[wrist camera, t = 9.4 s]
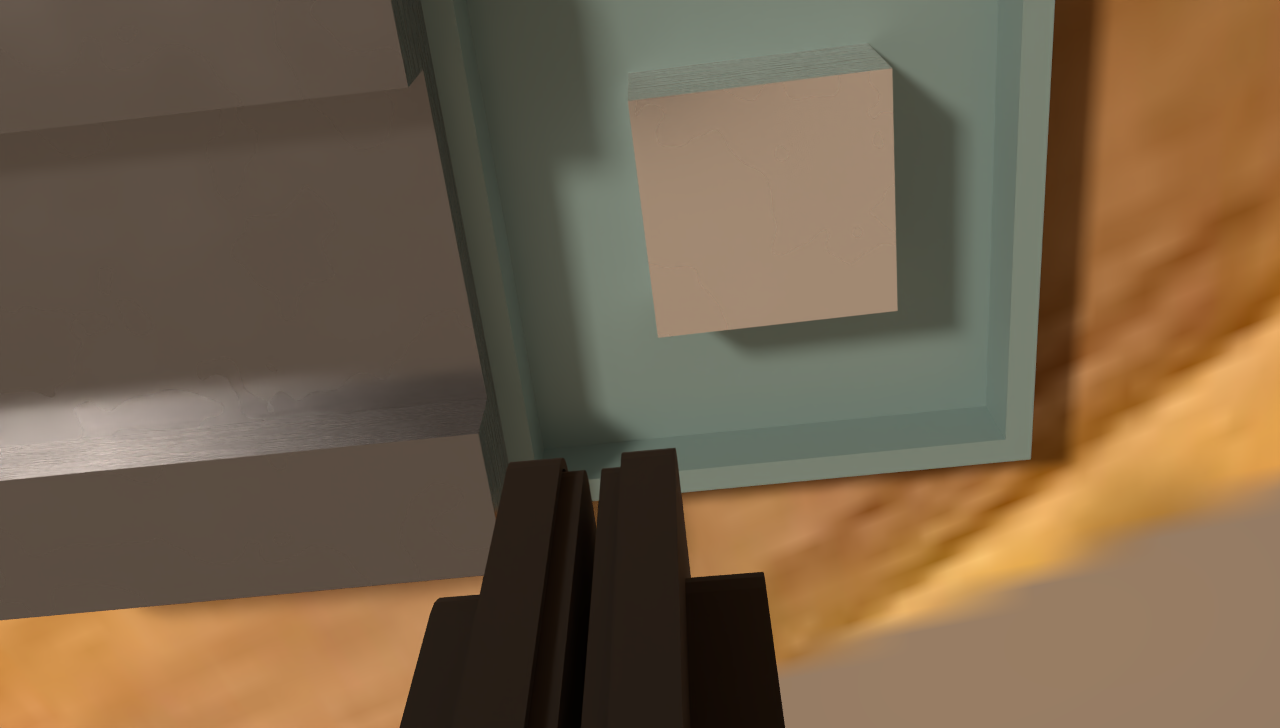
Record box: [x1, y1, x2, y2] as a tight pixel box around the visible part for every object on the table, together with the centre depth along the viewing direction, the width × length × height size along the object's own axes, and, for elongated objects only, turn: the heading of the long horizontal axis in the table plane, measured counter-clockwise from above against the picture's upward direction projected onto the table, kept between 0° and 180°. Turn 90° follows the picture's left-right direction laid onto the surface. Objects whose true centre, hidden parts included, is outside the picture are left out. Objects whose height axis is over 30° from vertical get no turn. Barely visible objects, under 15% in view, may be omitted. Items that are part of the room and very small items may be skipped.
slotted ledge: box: [0, 0, 509, 620], centre depth 23 cm, size 14×14×4 cm
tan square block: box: [628, 43, 898, 338], centre depth 23 cm, size 5×5×2 cm
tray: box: [421, 0, 1055, 501], centre depth 24 cm, size 12×14×2 cm
